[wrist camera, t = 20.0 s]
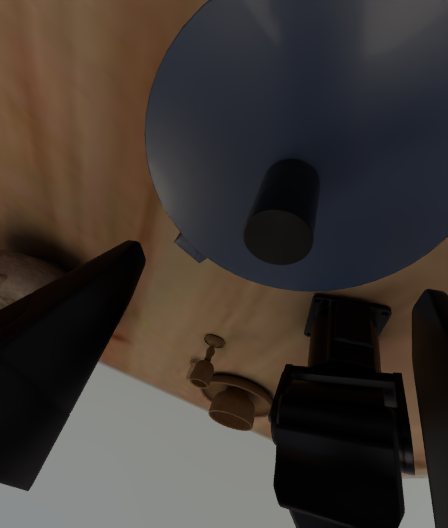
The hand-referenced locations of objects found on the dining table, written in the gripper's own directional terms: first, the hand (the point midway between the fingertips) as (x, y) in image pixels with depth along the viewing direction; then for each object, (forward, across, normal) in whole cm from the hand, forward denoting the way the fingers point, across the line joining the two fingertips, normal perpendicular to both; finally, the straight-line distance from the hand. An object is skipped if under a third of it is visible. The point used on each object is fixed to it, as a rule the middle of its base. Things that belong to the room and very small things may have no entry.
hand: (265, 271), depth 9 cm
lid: (+6, 0, 0) cm, 6 cm away
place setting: (+12, +4, +37) cm, 39 cm away
